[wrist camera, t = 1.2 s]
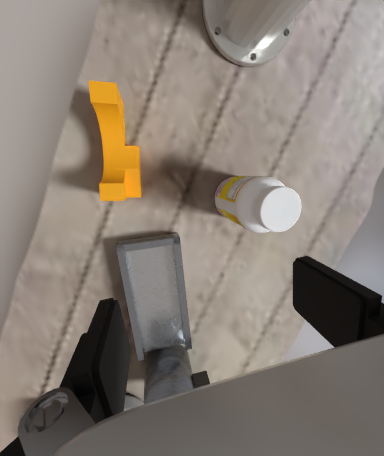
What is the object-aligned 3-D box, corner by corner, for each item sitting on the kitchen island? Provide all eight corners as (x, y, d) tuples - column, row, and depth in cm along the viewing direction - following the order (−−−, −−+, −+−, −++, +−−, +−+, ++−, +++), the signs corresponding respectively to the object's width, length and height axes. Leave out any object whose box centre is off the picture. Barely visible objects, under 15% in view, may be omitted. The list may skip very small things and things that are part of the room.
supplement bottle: (253, 215, 35) (308, 237, 23) (214, 220, 34) (251, 246, 22) (252, 174, 33) (312, 174, 21) (212, 177, 32) (250, 179, 20)
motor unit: (118, 241, 32) (100, 278, 20) (188, 231, 34) (207, 260, 22) (145, 384, 39) (143, 470, 28) (201, 370, 41) (221, 445, 30)
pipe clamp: (141, 194, 31) (139, 200, 25) (110, 195, 30) (100, 200, 24) (136, 103, 28) (133, 84, 22) (102, 101, 27) (88, 80, 21)
